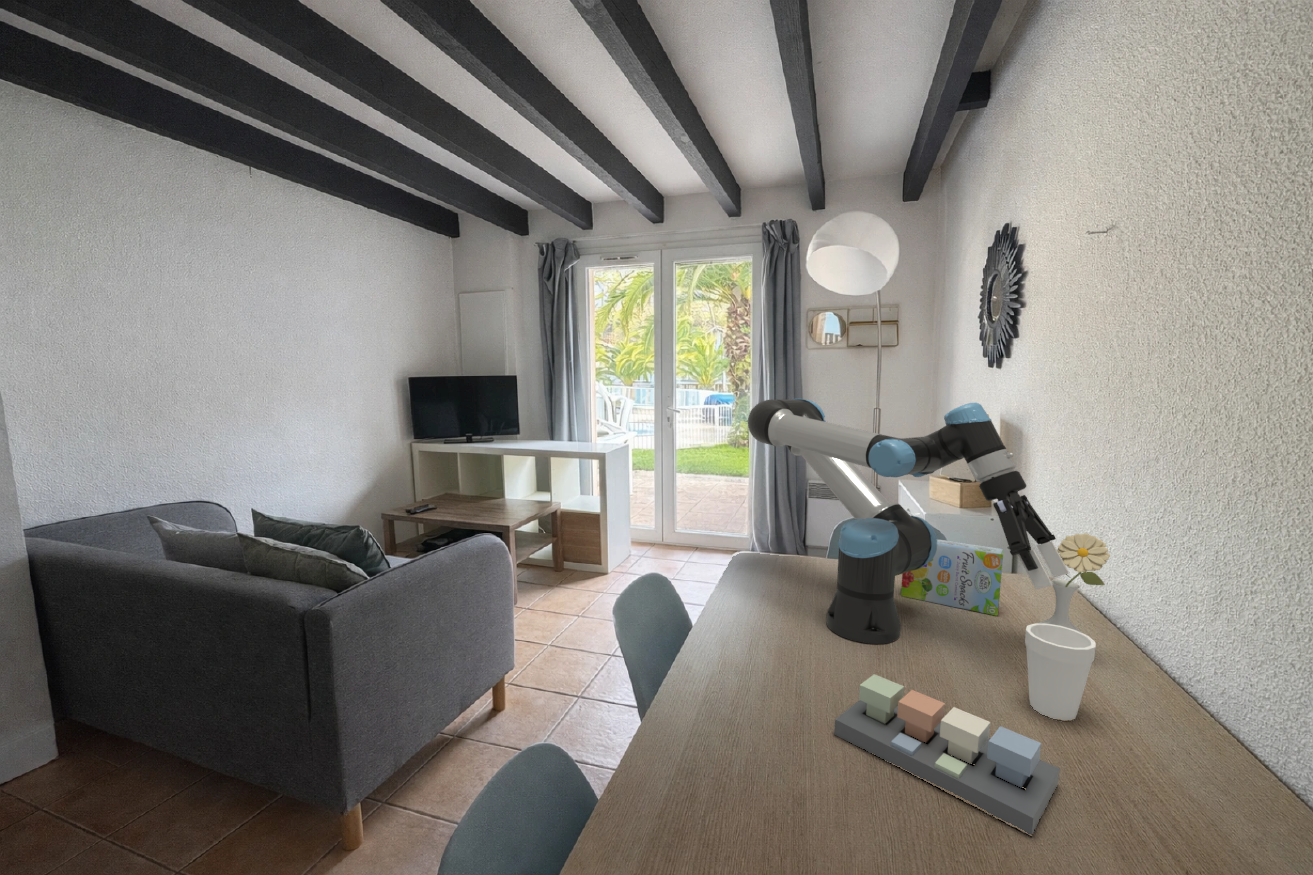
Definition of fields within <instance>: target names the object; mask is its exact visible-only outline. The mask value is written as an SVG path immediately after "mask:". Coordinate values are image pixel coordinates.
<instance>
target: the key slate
mask: <svg viewBox="0 0 1313 875" xmlns="http://www.w3.org/2000/svg"><path fill="white" fill-rule="evenodd" d="M990 738H991V739H990V740H989V743H988V754H987V758H988V759H990V760H993V761H995V762H997V763H996V774H995V776H997V777H999V779H1000V778H1001V780H1002V779H1003V781H1004V780H1005V782H1006V781H1007V783H1008V782H1009V784H1012V785H1014V786H1015V785H1016V787H1017V786H1018V788H1019V787H1020V789H1021V788H1022V786H1023V785H1024V783H1025V781H1026V780H1027V778H1028V777H1030V775H1031V773H1032V772H1033V770H1034V768H1035V767H1036V765H1037V763H1038V762H1039V760H1041V759H1040V758H1041V747H1042V742H1040V741H1037V740H1036V739H1032V738H1030V737H1027V736H1026V735H1022V734H1020V733H1018V732H1016V731H1013V730H1011V729H1008V728H1006V727H1003V726H1001V725H1000V726H999V727H998V728H997V729H996V731H995V732H994V734H993V735H992V736H991V737H990Z"/></svg>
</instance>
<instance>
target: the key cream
mask: <svg viewBox="0 0 1313 875" xmlns="http://www.w3.org/2000/svg"><path fill="white" fill-rule="evenodd" d="M990 733H991V721H988V720H986V719H984V718H982V717H979V716H977V715H975V714H972V713H969V712H967V711H964V710H962V709H960V708H958V707H955V706H953V707H952V708H951V710H949V712H947V713H946V714H945V715H944V718H943V719H942V720H941V727H940V737H942V738H944V739H947V740H949V742H948V754H950V755H952V757H953V756H954V757H955V758H957V759H959V760H960V759H961V761H962V760H963V762H964V761H965V763H966V762H967V764H968V763H969V765H970V764H971V763H972V762H973V761H974V759H975V758H976V757H977V756H978V752H979V751H980V749H981V748H982V747H983V745H984V744H985V743H986V742H987V740H988V739H989V738H990Z"/></svg>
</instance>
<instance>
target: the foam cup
mask: <svg viewBox="0 0 1313 875" xmlns="http://www.w3.org/2000/svg"><path fill="white" fill-rule="evenodd" d="M1081 632H1082V631H1081ZM1081 632H1078V631H1076V630H1073V629H1070V628H1066V627H1063V626H1058V625H1052V624H1045V623H1039V622H1037V623H1031V624H1028V625H1026V628H1025V636H1024V637H1025V638H1024V644H1025V647H1026V662H1027V664H1026V665H1027V679H1028V683H1027V684H1028V696H1029V699H1028V700H1029V706H1030V705H1031V706H1032V707H1033V709H1034V710H1036V711H1038V712H1039V713H1040V714H1042V715H1045V716H1048V717H1050V718H1053V719H1061V720H1072V719H1075V720H1076V717H1077V716H1078V712H1079V708H1080V706H1081V701H1082V698H1083V695H1084V690H1085V688H1086V684H1087V681H1088V678H1089V674H1090V670H1091V667H1092V664H1093V662H1094V661H1095V656H1096V648H1097V647H1096V646H1097V644H1096V641H1095V640H1094V639H1092V637H1091V636H1089V635H1088V634H1085V633H1083V632H1082V633H1081ZM1031 706H1030V707H1031ZM1032 707H1031V708H1032ZM1033 709H1032V710H1033ZM1034 710H1033V711H1034ZM1036 711H1035V712H1036ZM1039 713H1038V714H1039ZM1040 714H1039V715H1040ZM1042 715H1041V716H1042ZM1045 716H1044V717H1045ZM1050 718H1049V719H1050ZM1053 719H1052V720H1053Z"/></svg>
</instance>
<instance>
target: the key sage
mask: <svg viewBox="0 0 1313 875" xmlns="http://www.w3.org/2000/svg"><path fill="white" fill-rule="evenodd" d="M858 691H859V692H858V693H859V695H858V701H859V700H861V701H863V702H865V703H867V710H866V715H867V716H870V717H872V718H874V720H875V719H876V721H877V720H878V722H879V721H880V722H881V723H883V724H885V723H886V722H888V721H889V720H890V719H891V718H892V717H893V716H894V709H895V708H896V707H897V706H898V701H900V700H901V699H902V698H903V697H904V696H905V695H904V693H905V685H902V684H900V683H897V682H894V681H892V680H890V679H888V678H885V677H883V676H880V675H877V674H874V673H873V674H872V675H871V676H870V677H868V678H867V679H865V680H864V681H863V682H862V683H861V684H859V690H858ZM885 725H886V724H885Z"/></svg>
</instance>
